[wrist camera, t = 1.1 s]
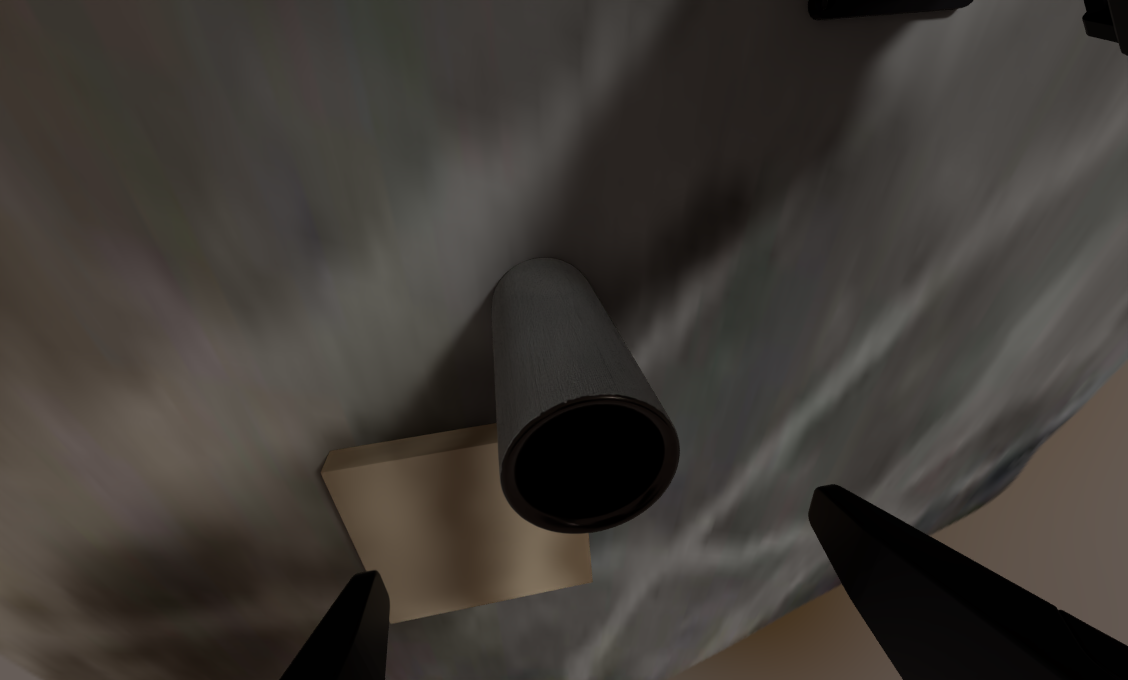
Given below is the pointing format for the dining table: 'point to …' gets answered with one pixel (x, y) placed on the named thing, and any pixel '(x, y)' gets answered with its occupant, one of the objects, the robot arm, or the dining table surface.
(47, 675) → the dining table surface
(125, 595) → the dining table surface
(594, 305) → the grey hollow cylinder
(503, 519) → the oak block
